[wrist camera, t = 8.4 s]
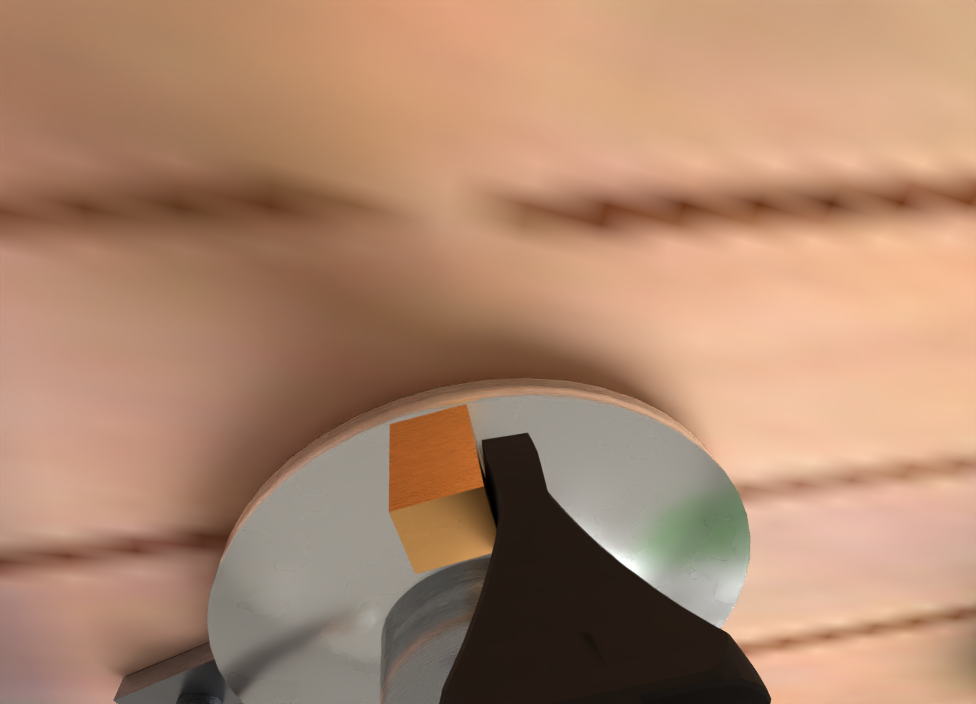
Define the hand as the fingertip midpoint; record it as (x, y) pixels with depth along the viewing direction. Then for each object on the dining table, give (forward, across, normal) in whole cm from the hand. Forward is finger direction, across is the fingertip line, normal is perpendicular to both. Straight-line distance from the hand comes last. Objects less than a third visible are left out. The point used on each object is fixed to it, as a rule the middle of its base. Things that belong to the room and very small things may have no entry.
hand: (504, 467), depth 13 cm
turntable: (+2, 0, +8) cm, 8 cm away
